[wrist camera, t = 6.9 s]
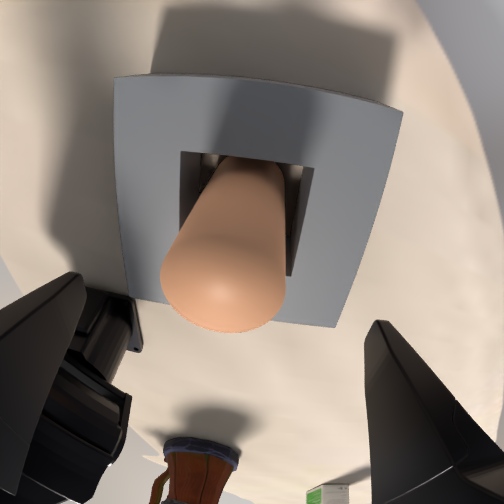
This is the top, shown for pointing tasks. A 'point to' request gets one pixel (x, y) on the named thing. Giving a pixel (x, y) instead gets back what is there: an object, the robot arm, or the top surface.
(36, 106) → the top surface
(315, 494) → the skincare box
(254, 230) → the peg
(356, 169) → the socket block
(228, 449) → the mug
